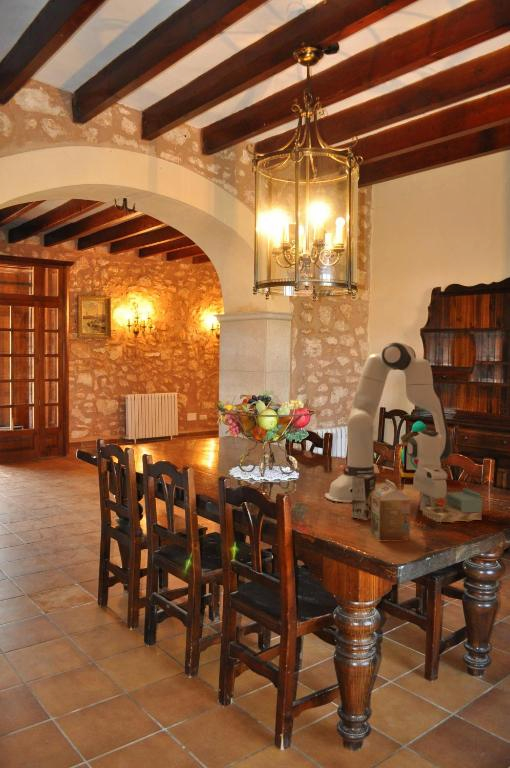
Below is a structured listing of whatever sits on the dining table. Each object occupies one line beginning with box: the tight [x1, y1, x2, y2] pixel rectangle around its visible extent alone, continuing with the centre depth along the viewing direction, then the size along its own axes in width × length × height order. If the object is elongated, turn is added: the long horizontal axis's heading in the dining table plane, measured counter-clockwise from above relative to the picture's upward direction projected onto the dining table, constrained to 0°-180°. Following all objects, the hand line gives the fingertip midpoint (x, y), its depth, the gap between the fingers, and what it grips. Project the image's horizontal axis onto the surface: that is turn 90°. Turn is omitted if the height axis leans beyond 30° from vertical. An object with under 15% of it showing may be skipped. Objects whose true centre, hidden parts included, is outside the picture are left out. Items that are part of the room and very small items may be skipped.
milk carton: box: [370, 479, 411, 540], centre depth 211 cm, size 10×11×19 cm
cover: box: [445, 488, 483, 513], centre depth 236 cm, size 8×12×6 cm, turn 13°
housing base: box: [422, 505, 483, 524], centre depth 235 cm, size 18×12×3 cm, turn 103°
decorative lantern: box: [397, 420, 427, 485], centre depth 301 cm, size 20×20×30 cm
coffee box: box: [351, 474, 377, 521], centre depth 235 cm, size 9×6×16 cm
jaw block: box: [419, 495, 431, 512], centre depth 245 cm, size 4×4×6 cm
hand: (428, 505), depth 245 cm, fingers closed on jaw block, 4 cm apart
